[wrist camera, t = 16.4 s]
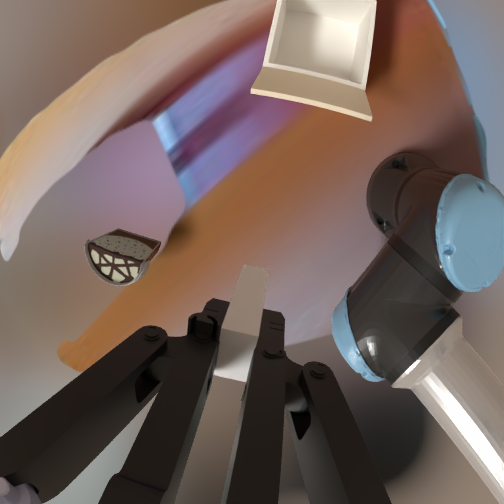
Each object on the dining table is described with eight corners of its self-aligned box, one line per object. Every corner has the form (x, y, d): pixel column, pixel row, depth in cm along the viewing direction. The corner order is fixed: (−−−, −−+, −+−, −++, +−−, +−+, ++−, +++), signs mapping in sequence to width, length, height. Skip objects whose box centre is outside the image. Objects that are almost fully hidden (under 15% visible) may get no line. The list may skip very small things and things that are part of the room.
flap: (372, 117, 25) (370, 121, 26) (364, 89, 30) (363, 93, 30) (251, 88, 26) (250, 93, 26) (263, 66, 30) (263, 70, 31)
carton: (360, 26, 33) (376, 1, 24) (348, 102, 39) (365, 90, 30) (283, 8, 34) (282, -21, 25) (267, 83, 39) (262, 66, 30)
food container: (110, 255, 53) (81, 275, 44) (112, 226, 51) (81, 243, 41) (164, 273, 53) (141, 299, 43) (168, 244, 51) (144, 265, 41)
